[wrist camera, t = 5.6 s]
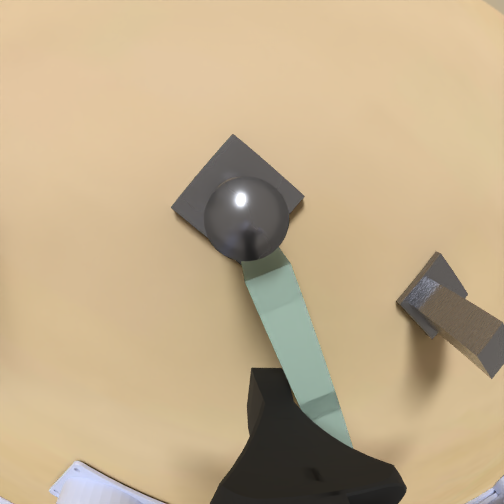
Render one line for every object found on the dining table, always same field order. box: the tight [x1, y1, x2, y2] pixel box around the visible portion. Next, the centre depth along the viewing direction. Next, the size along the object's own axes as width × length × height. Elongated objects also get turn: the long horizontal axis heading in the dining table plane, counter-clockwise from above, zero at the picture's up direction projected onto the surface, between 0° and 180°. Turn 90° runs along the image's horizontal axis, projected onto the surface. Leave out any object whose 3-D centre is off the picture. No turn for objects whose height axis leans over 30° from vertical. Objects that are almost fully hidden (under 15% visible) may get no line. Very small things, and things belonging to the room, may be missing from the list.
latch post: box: [396, 252, 504, 379], centre depth 11 cm, size 3×4×6 cm
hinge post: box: [171, 134, 305, 265], centre depth 9 cm, size 4×4×6 cm
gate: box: [241, 247, 353, 448], centre depth 11 cm, size 10×1×4 cm, turn 22°
